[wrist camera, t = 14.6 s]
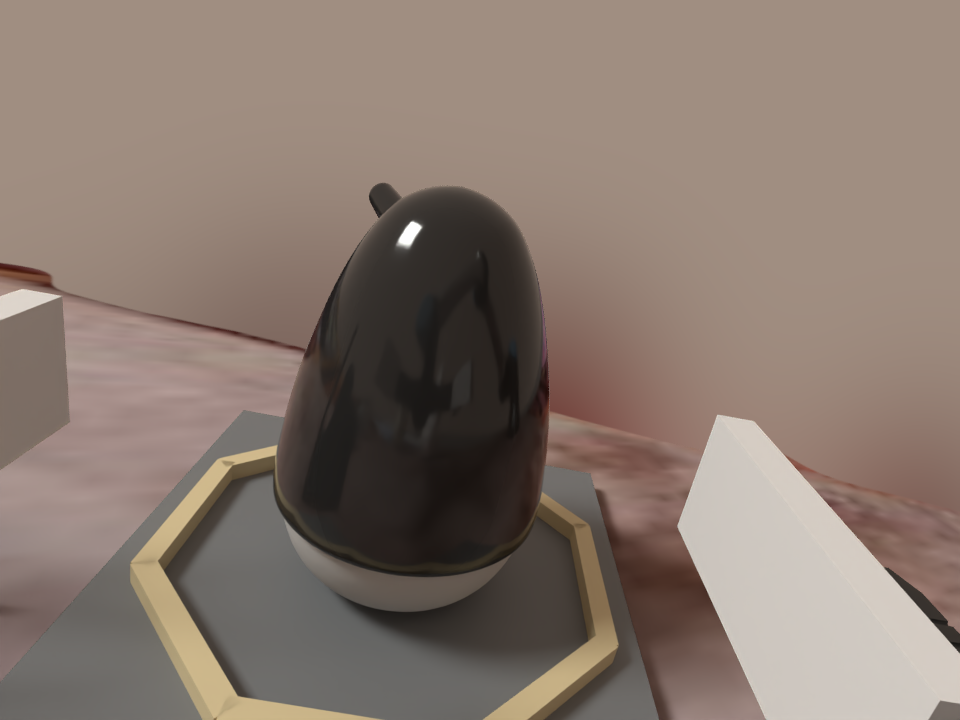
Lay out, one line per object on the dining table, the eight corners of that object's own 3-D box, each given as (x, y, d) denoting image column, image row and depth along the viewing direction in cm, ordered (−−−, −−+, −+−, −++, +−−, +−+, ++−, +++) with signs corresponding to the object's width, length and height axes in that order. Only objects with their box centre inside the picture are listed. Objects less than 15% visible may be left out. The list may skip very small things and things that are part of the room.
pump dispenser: (427, 470, 32) (483, 175, 27) (566, 601, 25) (680, 233, 20) (227, 516, 26) (249, 140, 21) (336, 710, 19) (414, 209, 13)
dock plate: (585, 488, 36) (593, 461, 35) (687, 882, 17) (708, 841, 16) (242, 425, 35) (244, 397, 34) (-52, 771, 16) (-60, 722, 15)
